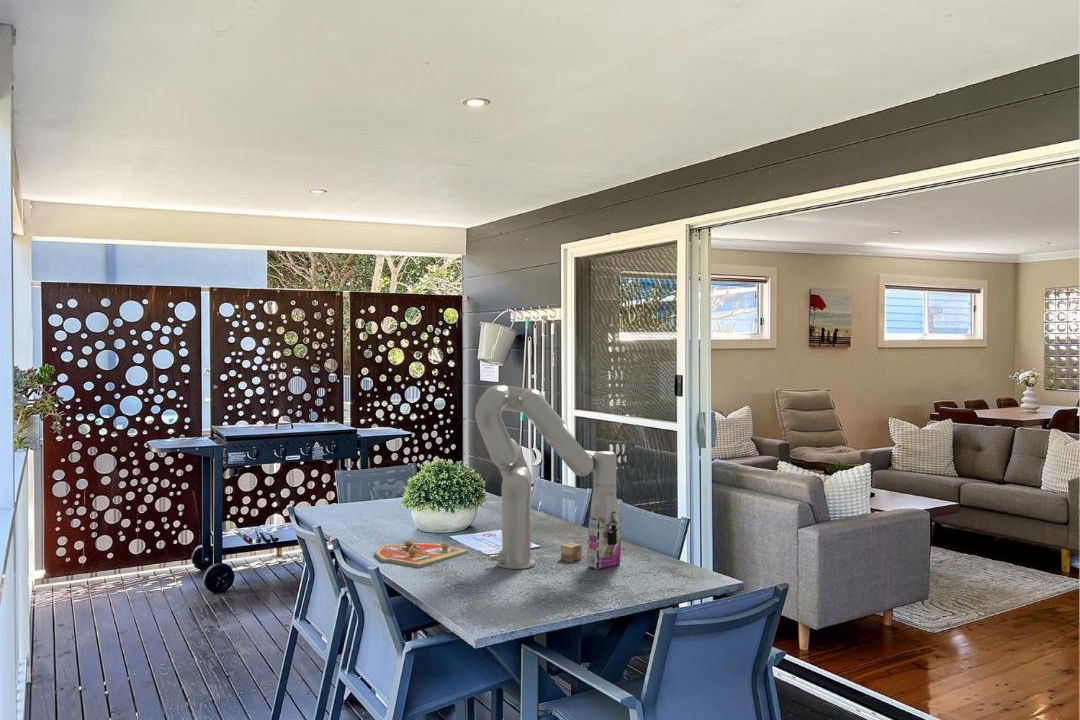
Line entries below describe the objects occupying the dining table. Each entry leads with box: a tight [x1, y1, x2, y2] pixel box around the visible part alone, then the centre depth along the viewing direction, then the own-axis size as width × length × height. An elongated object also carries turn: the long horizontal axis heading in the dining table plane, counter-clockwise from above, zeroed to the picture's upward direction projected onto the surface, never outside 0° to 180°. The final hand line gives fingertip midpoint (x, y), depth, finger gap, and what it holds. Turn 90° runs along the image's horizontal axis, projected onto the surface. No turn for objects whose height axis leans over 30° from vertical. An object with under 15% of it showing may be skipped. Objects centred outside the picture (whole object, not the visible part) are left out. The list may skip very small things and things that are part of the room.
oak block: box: [560, 542, 583, 562], centre depth 292 cm, size 5×5×5 cm
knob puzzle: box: [374, 539, 469, 569], centre depth 299 cm, size 29×30×4 cm
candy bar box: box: [587, 515, 622, 571], centre depth 283 cm, size 11×5×16 cm, turn 133°
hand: (604, 541), depth 283 cm, fingers open, 8 cm apart
